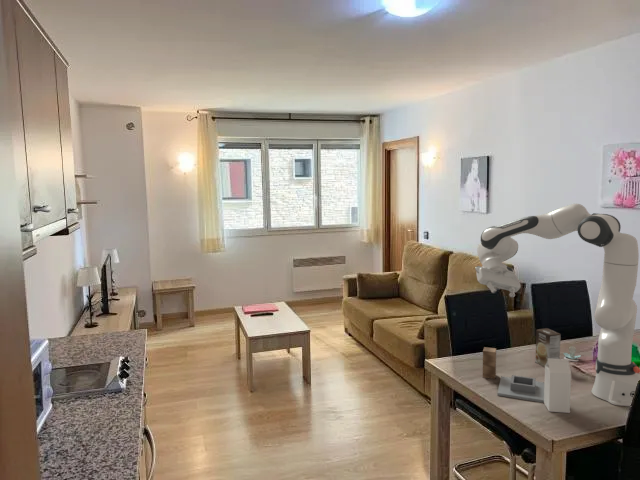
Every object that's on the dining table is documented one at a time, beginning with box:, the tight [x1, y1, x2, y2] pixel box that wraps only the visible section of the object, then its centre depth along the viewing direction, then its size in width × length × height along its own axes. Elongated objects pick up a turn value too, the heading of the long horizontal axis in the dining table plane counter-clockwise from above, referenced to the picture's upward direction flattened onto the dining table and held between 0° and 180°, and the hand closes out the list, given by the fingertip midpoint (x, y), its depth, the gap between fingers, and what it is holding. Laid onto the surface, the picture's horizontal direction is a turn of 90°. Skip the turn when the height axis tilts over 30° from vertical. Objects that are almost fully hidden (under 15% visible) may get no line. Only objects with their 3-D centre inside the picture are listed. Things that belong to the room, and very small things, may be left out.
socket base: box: [497, 374, 545, 403], centre depth 190 cm, size 18×18×4 cm
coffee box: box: [534, 327, 562, 368], centre depth 215 cm, size 9×6×16 cm
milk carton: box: [544, 358, 572, 414], centre depth 173 cm, size 7×7×19 cm
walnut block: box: [482, 346, 497, 380], centre depth 205 cm, size 5×5×12 cm
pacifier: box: [563, 345, 581, 362], centre depth 222 cm, size 7×6×6 cm
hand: (503, 294), depth 200 cm, fingers open, 8 cm apart
